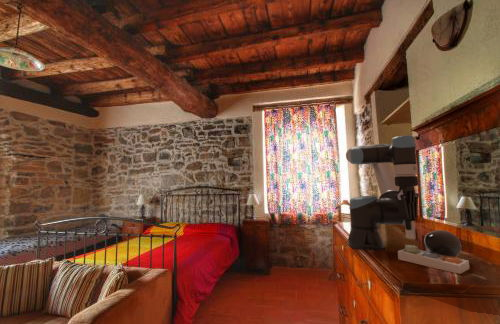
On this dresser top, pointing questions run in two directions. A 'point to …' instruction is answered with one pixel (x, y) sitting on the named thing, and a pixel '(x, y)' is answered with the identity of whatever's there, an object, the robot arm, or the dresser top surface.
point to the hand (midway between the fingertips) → (410, 238)
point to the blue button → (430, 254)
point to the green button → (411, 249)
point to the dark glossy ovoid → (443, 243)
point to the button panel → (433, 261)
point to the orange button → (452, 259)
